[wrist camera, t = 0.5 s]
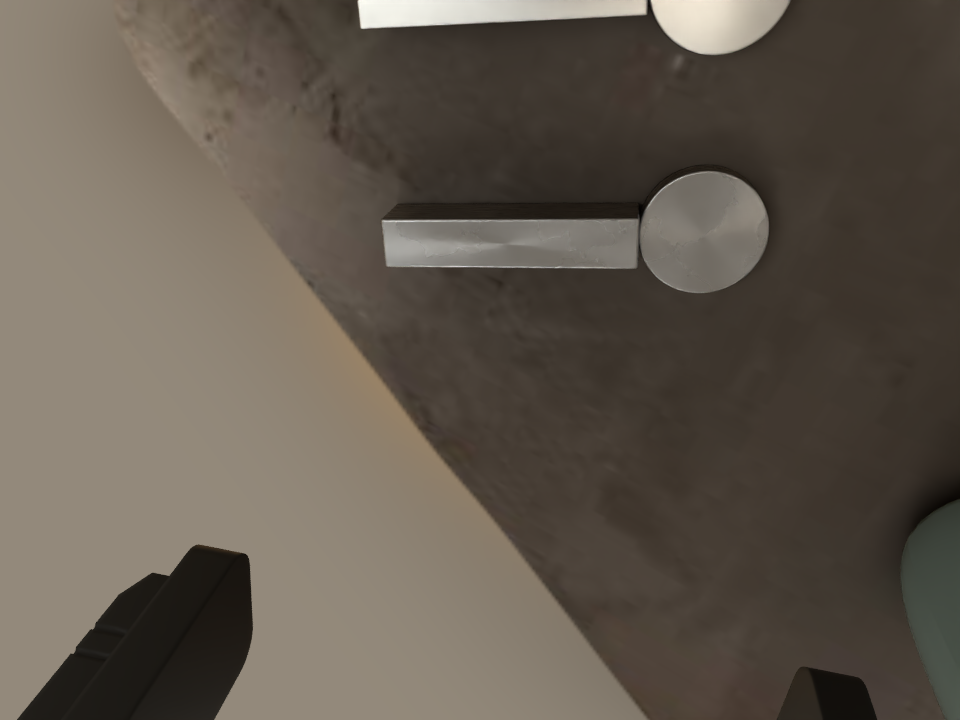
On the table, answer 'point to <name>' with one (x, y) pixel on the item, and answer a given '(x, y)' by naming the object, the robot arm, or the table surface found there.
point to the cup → (935, 601)
